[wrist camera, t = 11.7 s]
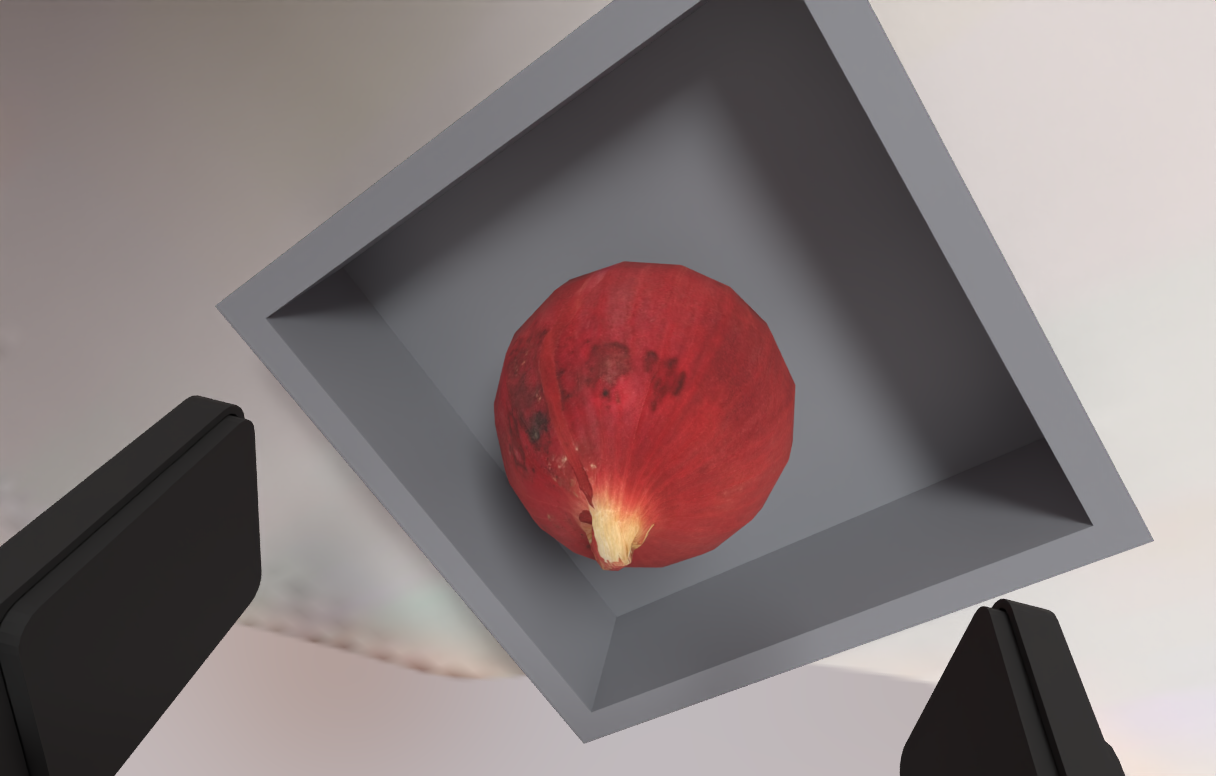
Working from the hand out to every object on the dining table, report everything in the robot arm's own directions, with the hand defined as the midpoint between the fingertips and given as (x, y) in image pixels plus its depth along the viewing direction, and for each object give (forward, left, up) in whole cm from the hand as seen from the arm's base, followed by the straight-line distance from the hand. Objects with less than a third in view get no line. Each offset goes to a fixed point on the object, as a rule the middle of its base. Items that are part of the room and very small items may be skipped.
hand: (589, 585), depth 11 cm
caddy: (+1, 0, -11) cm, 11 cm away
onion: (0, -1, -10) cm, 10 cm away
